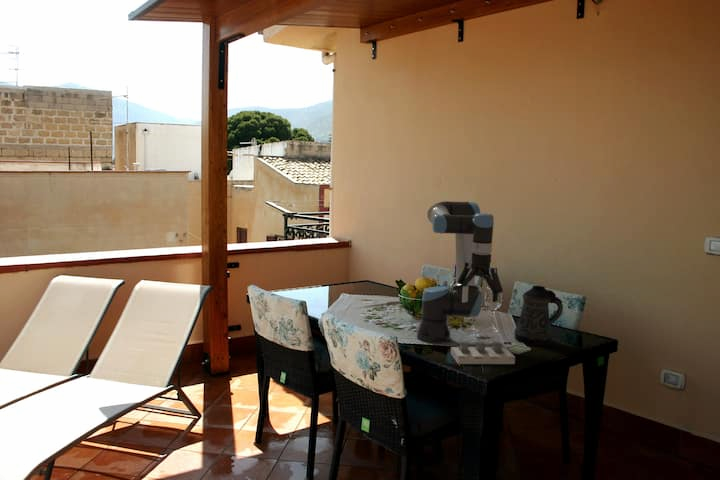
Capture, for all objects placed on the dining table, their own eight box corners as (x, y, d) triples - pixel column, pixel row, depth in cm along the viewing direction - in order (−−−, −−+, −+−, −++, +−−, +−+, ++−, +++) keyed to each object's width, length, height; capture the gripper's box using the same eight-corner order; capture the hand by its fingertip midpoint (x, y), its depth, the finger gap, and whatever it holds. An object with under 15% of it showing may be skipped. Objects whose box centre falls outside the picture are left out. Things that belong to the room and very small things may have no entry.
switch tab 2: (475, 349, 247) (476, 341, 246) (482, 349, 247) (483, 341, 247) (478, 352, 243) (478, 343, 243) (485, 352, 243) (485, 343, 243)
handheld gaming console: (503, 339, 268) (531, 347, 257) (503, 342, 268) (531, 351, 257) (489, 342, 262) (517, 351, 250) (488, 346, 262) (517, 355, 250)
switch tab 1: (459, 349, 246) (459, 340, 246) (466, 349, 247) (466, 340, 246) (461, 352, 242) (461, 343, 242) (468, 352, 243) (469, 343, 242)
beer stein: (506, 336, 277) (510, 283, 274) (541, 333, 284) (545, 282, 281) (528, 346, 261) (532, 291, 258) (564, 343, 268) (568, 289, 265)
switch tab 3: (491, 349, 248) (492, 341, 247) (498, 349, 248) (499, 341, 247) (494, 352, 244) (495, 343, 243) (502, 352, 244) (502, 344, 243)
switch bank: (450, 353, 248) (450, 346, 248) (504, 353, 250) (504, 346, 250) (458, 363, 236) (458, 356, 235) (514, 364, 238) (515, 356, 237)
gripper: (450, 249, 239) (447, 300, 243) (502, 259, 221) (498, 314, 224) (462, 247, 244) (459, 297, 248) (514, 257, 226) (510, 311, 229)
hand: (478, 305), depth 236 cm, fingers open, 13 cm apart
